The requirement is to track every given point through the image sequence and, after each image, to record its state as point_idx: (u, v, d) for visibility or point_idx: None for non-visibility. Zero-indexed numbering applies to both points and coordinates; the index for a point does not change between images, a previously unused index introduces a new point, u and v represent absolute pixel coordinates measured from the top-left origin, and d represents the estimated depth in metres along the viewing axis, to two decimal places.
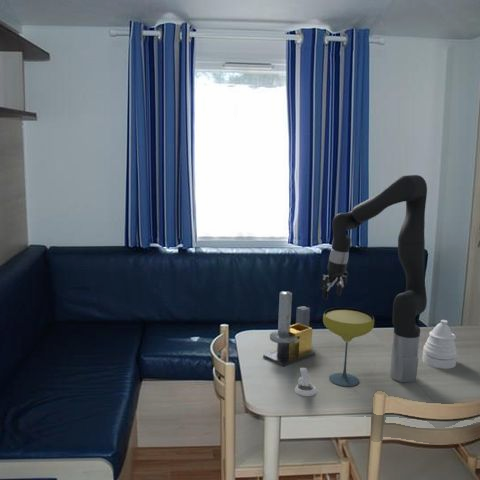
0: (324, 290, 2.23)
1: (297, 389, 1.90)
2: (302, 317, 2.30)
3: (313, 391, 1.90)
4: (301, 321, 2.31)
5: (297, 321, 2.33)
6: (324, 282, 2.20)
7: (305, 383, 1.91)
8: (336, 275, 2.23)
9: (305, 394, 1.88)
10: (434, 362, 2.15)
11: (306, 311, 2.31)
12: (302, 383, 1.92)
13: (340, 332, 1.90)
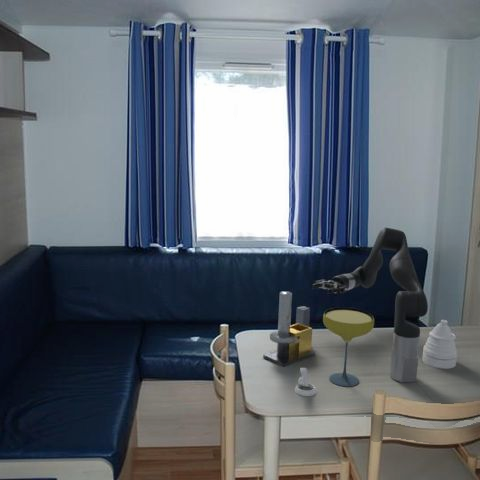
0: None
1: (297, 389, 1.90)
2: (302, 317, 2.30)
3: (314, 391, 1.90)
4: (301, 321, 2.31)
5: (297, 321, 2.33)
6: None
7: (305, 383, 1.91)
8: (333, 282, 2.45)
9: (305, 394, 1.88)
10: (434, 362, 2.15)
11: (306, 311, 2.31)
12: (302, 383, 1.92)
13: (340, 332, 1.90)
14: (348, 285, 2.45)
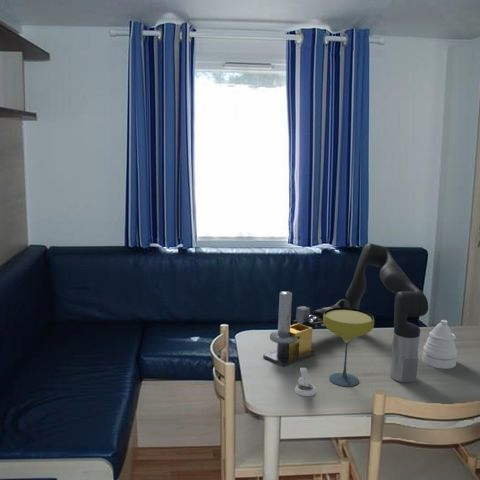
0: None
1: (297, 389, 1.90)
2: (302, 317, 2.30)
3: (314, 391, 1.90)
4: (301, 321, 2.31)
5: (297, 321, 2.33)
6: None
7: (305, 383, 1.91)
8: (313, 316, 2.39)
9: (305, 394, 1.88)
10: (434, 362, 2.15)
11: (306, 311, 2.31)
12: (302, 383, 1.92)
13: (340, 332, 1.90)
14: None
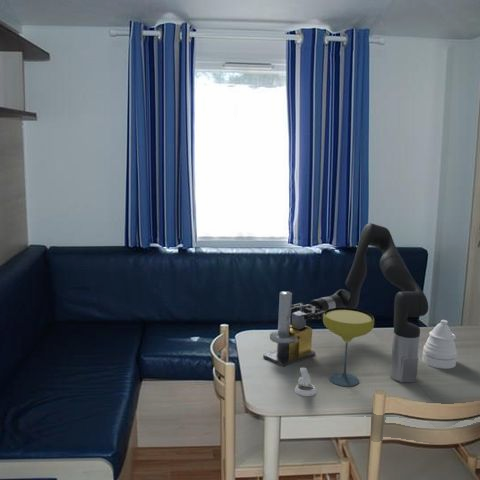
0: None
1: (297, 389, 1.90)
2: (298, 323, 2.19)
3: (314, 391, 1.90)
4: (297, 327, 2.20)
5: (293, 327, 2.22)
6: None
7: (305, 383, 1.91)
8: (311, 306, 2.27)
9: (305, 394, 1.88)
10: (434, 362, 2.15)
11: (302, 317, 2.20)
12: (302, 383, 1.92)
13: (340, 332, 1.90)
14: (327, 309, 2.28)
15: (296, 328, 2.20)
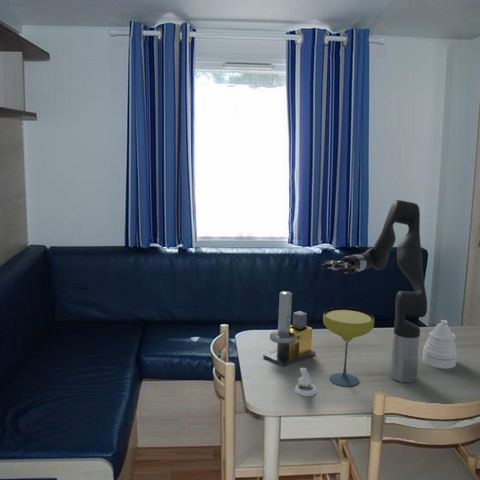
0: None
1: (297, 389, 1.90)
2: (299, 323, 2.20)
3: (314, 391, 1.90)
4: (298, 327, 2.20)
5: (293, 327, 2.22)
6: None
7: (305, 383, 1.91)
8: (343, 262, 2.32)
9: (305, 394, 1.88)
10: (434, 362, 2.15)
11: (303, 317, 2.20)
12: (302, 383, 1.92)
13: (340, 332, 1.90)
14: (359, 266, 2.33)
15: (297, 328, 2.21)
